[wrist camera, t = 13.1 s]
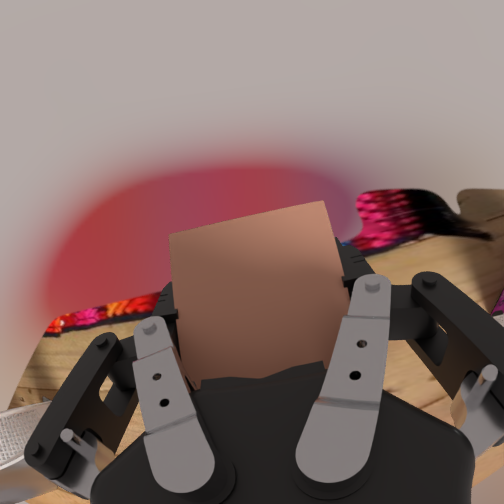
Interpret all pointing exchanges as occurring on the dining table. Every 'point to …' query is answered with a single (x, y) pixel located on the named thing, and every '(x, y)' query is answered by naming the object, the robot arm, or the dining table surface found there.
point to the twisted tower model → (18, 430)
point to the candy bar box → (499, 310)
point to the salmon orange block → (258, 293)
